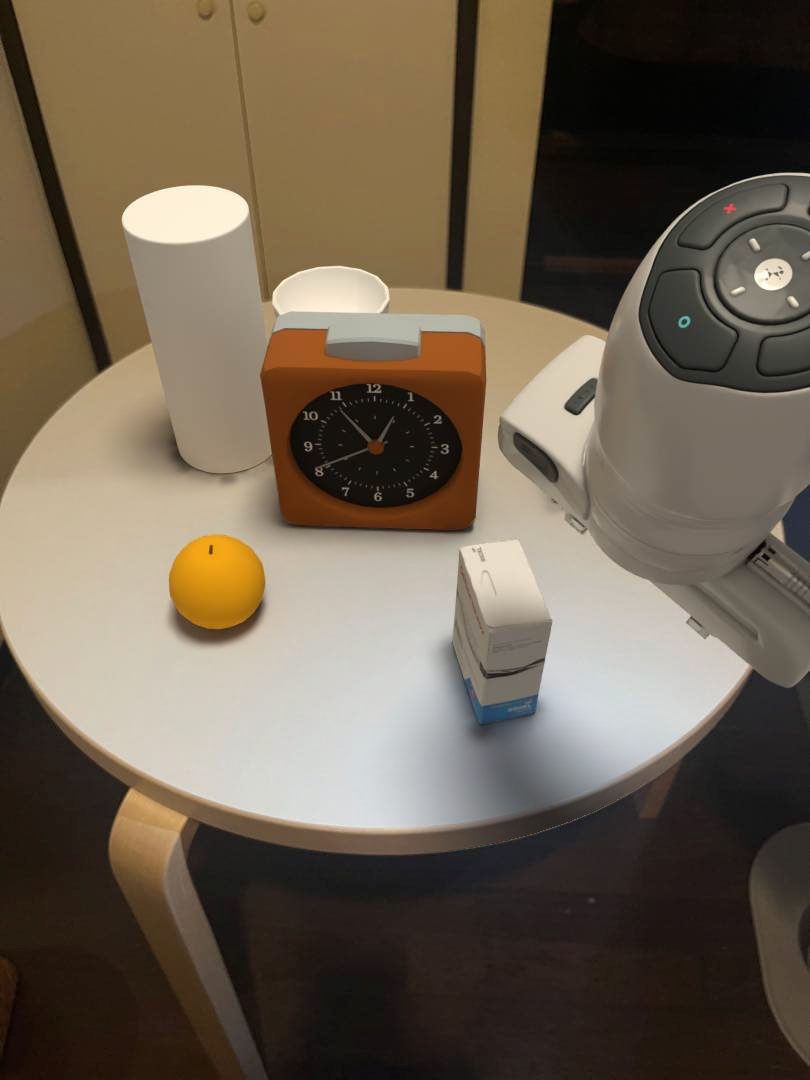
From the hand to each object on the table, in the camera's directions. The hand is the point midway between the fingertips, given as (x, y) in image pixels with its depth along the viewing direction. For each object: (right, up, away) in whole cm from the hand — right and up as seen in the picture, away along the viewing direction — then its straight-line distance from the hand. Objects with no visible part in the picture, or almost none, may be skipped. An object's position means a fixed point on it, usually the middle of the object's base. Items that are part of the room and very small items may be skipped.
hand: (641, 569), depth 52 cm
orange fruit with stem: (-30, -4, +23) cm, 38 cm away
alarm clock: (-17, +6, +33) cm, 37 cm away
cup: (-22, +20, +46) cm, 55 cm away
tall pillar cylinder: (-33, +12, +39) cm, 53 cm away
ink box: (-7, -10, +18) cm, 22 cm away
